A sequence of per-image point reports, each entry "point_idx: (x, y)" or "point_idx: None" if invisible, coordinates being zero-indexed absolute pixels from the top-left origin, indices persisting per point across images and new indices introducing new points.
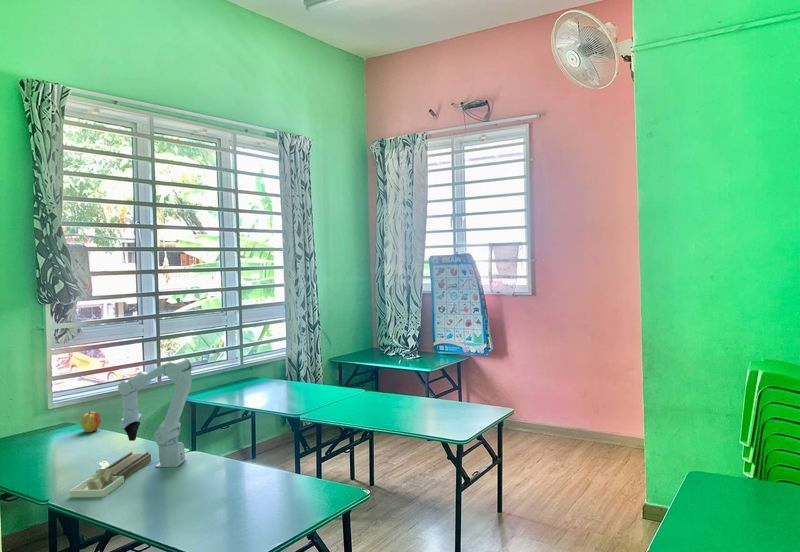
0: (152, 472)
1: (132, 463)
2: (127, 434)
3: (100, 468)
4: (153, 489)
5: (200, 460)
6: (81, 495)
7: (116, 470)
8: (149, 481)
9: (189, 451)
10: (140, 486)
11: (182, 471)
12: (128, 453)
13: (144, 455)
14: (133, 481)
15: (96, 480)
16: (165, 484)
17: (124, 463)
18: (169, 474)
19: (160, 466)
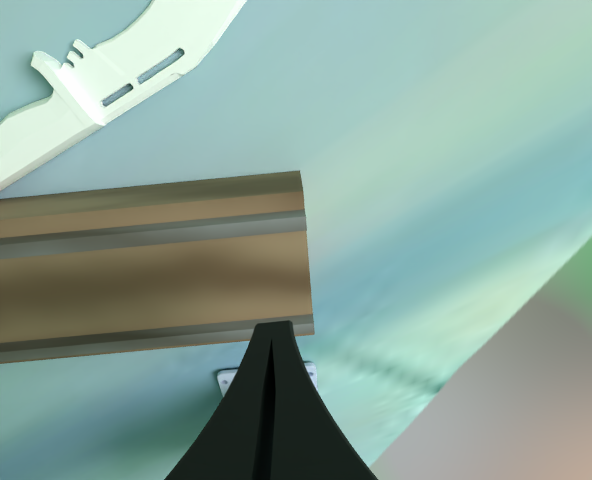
0: (162, 386)
1: (119, 346)
2: (230, 388)
3: (55, 87)
4: (23, 461)
5: None
6: None
7: (1, 314)
8: (74, 421)
9: (433, 392)
10: (18, 419)
11: None
12: (272, 221)
13: None
14: (43, 373)
15: None
16: (78, 469)
17: (119, 287)
18: (162, 442)
19: (221, 391)
